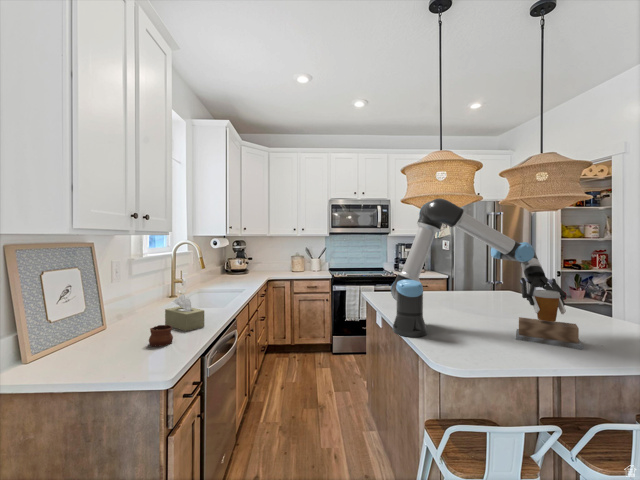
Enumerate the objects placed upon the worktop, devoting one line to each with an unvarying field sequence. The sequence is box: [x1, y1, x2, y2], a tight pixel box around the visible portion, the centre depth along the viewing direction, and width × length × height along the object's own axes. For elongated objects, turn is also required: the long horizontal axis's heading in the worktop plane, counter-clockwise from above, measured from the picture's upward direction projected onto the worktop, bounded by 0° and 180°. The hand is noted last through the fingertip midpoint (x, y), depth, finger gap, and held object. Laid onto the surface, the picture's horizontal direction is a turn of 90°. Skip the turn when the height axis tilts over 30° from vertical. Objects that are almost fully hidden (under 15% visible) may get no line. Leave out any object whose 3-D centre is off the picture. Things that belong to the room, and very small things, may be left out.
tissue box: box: [164, 293, 205, 332], centre depth 152 cm, size 19×10×16 cm, turn 56°
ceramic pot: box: [148, 324, 174, 348], centre depth 126 cm, size 18×18×7 cm
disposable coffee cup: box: [533, 289, 561, 322], centre depth 131 cm, size 10×10×12 cm
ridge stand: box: [515, 316, 584, 350], centre depth 131 cm, size 22×13×8 cm, turn 56°
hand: (550, 311), depth 128 cm, fingers closed on disposable coffee cup, 9 cm apart
